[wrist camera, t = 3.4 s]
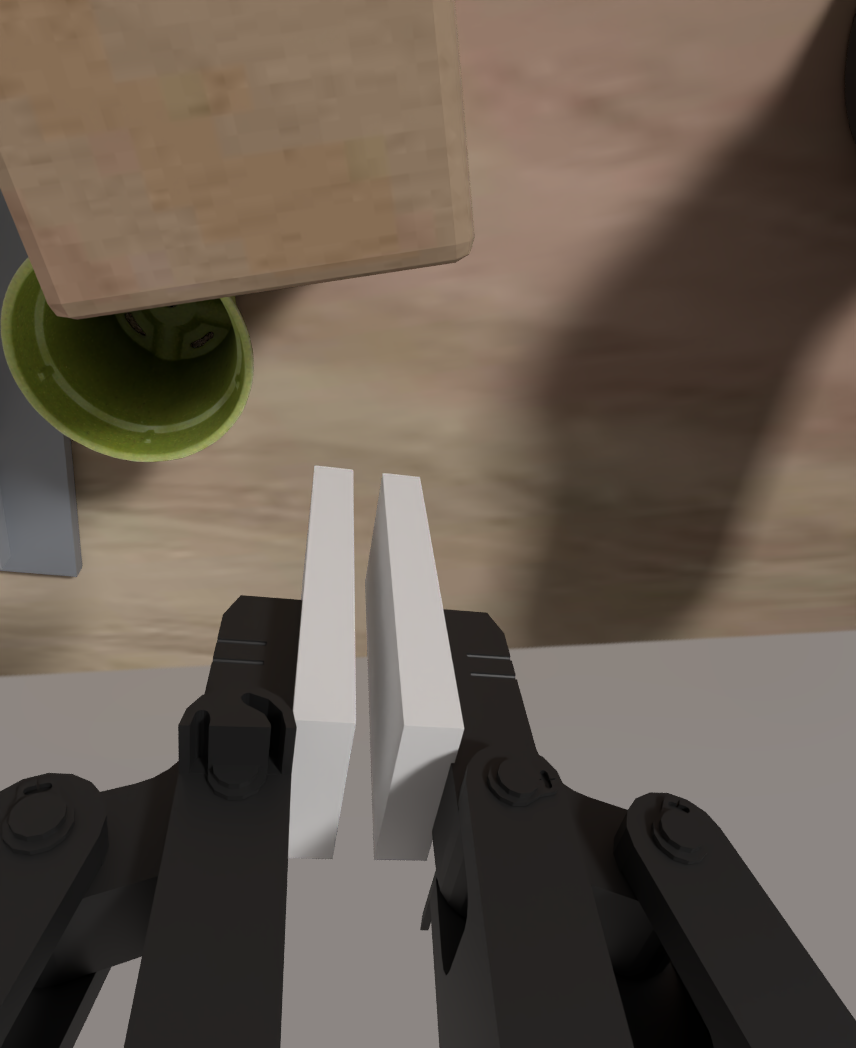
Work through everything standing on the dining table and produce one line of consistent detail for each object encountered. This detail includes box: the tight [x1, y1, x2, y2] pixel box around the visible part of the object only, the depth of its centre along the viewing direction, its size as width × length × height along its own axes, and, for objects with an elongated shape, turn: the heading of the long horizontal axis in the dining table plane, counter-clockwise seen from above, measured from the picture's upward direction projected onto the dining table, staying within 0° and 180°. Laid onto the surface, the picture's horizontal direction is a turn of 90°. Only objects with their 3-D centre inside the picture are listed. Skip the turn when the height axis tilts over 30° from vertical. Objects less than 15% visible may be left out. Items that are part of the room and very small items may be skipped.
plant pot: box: [1, 257, 254, 462], centre depth 32 cm, size 9×9×9 cm
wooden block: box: [0, 0, 474, 320], centre depth 22 cm, size 10×10×20 cm
